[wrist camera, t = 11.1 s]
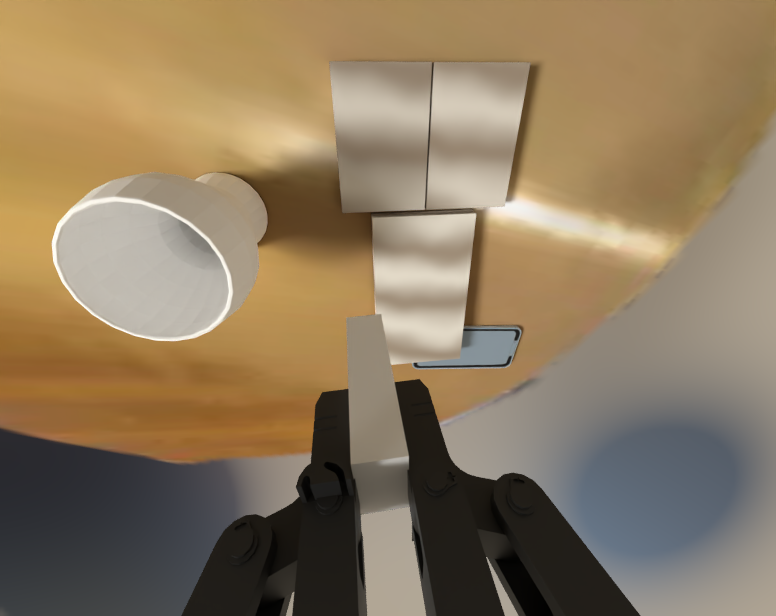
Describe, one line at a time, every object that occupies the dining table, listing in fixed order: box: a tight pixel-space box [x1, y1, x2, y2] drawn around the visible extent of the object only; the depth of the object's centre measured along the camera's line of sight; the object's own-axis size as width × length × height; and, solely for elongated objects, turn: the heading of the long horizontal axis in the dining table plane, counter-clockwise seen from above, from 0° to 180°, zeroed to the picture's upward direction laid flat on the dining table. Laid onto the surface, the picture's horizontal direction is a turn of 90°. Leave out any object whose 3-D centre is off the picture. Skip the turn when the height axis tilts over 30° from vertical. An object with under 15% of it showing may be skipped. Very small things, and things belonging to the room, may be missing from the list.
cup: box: [52, 172, 268, 341], centre depth 25 cm, size 11×11×15 cm
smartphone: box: [412, 325, 521, 369], centre depth 44 cm, size 7×1×15 cm
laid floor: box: [329, 61, 530, 213], centre depth 29 cm, size 12×17×2 cm
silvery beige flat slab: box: [371, 209, 476, 365], centre depth 37 cm, size 19×11×2 cm, turn 1°
